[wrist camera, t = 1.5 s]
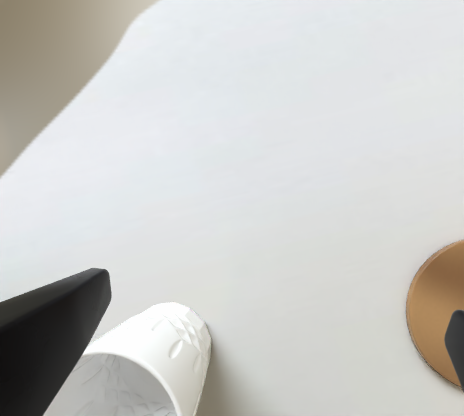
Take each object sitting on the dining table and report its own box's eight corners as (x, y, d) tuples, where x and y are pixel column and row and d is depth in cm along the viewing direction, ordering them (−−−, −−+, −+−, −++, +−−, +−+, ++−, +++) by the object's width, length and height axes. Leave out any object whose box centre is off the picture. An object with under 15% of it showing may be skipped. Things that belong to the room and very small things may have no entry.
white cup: (211, 288, 24) (171, 340, 14) (226, 388, 24) (196, 513, 14) (118, 300, 25) (19, 358, 15) (132, 397, 25) (40, 520, 15)
